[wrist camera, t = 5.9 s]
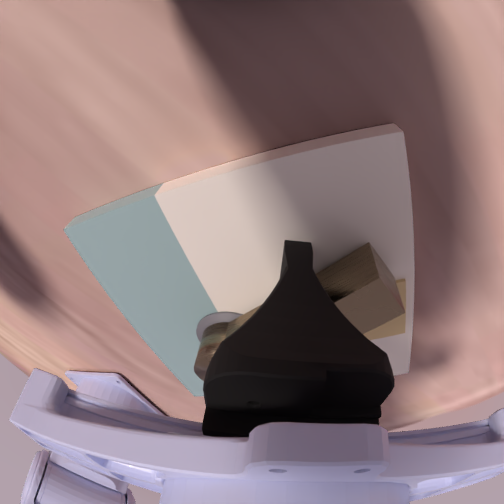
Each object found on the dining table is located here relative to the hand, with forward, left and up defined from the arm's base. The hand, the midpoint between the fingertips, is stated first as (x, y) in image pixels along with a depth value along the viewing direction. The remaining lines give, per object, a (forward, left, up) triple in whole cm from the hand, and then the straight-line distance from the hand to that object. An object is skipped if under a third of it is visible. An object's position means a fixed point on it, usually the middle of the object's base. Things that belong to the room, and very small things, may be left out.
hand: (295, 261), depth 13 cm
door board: (-4, +3, -2) cm, 5 cm away
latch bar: (-3, +1, 0) cm, 4 cm away
